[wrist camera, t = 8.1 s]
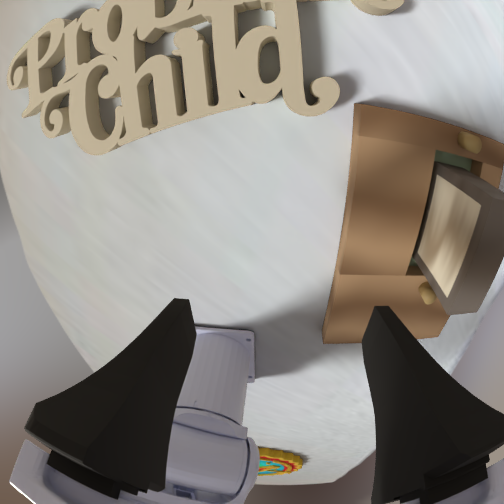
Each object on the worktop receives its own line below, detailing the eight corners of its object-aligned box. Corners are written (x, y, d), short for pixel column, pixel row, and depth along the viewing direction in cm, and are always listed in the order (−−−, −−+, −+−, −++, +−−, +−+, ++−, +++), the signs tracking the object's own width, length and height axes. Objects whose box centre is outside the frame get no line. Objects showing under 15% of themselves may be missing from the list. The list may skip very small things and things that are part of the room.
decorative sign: (40, 202, 18) (4, 62, 11) (53, 193, 20) (19, 60, 13) (430, 109, 12) (369, -74, 5) (416, 107, 14) (362, -63, 7)
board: (433, 326, 24) (442, 347, 21) (321, 330, 25) (324, 356, 22) (494, 140, 13) (518, 150, 11) (354, 103, 14) (369, 104, 12)
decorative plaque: (171, 459, 57) (208, 444, 42) (173, 452, 59) (210, 432, 44) (263, 479, 63) (327, 464, 48) (264, 473, 65) (327, 454, 50)
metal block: (439, 257, 19) (477, 312, 13) (411, 255, 20) (446, 315, 14) (463, 167, 15) (521, 205, 9) (433, 160, 15) (492, 197, 9)
